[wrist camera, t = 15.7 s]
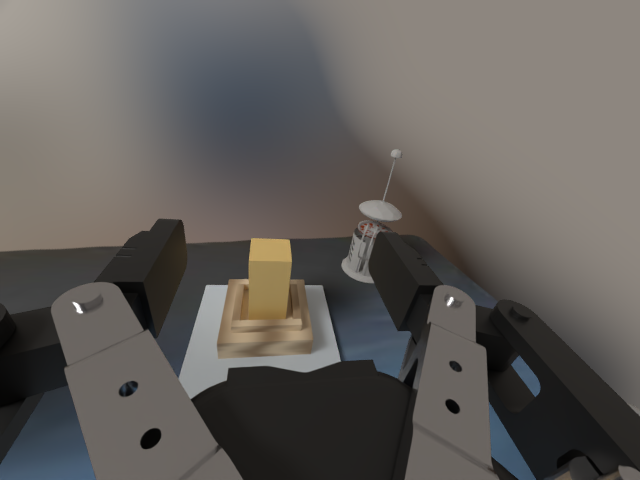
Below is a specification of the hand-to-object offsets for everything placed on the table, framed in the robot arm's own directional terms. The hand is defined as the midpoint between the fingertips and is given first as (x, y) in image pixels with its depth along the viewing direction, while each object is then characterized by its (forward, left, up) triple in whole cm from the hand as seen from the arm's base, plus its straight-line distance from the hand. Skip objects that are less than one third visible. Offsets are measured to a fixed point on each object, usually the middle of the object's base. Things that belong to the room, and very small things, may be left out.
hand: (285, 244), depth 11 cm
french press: (+20, +33, -27) cm, 47 cm away
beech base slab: (0, +19, -26) cm, 32 cm away
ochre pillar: (0, +19, -23) cm, 30 cm away
